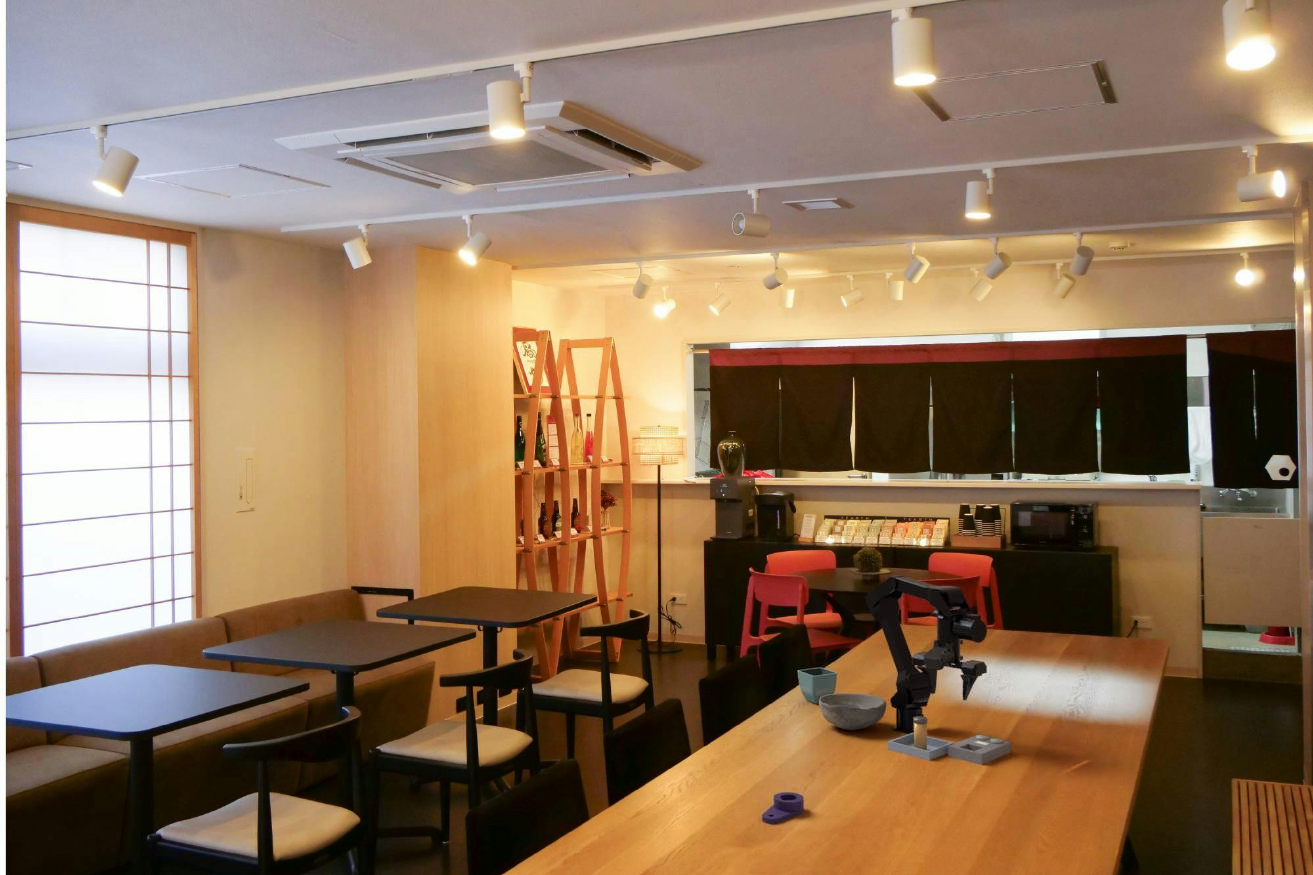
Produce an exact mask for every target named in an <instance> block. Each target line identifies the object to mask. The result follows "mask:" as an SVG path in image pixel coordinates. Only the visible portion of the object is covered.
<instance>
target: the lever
mask: <svg viewBox="0 0 1313 875" xmlns="http://www.w3.org/2000/svg"><path fill="white" fill-rule="evenodd" d="M804 798H805V797H804V796H803V795H802V794H799V793H797V792H793V791H792V792H791V791H784V792H778V793H775V794H774V795H773V805H771V806H770V807H769V808H768V809H767V810H765V811H764V812H763V813H762V815H761V821H762V822H763V823H765V824H768V825H769V824H770V825H774V824H779V823H782V822H784V821H787V820H790V819H793V818H795V817H798V816H801V815H803V814H804V812H805V810H804V807H805V805H804V803H805V802H804V800H805V799H804Z"/></svg>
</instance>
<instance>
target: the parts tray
mask: <svg viewBox="0 0 1313 875" xmlns="http://www.w3.org/2000/svg"><path fill="white" fill-rule="evenodd" d="M952 744H955V743H954V742H952V741H949V740H944V739H941V738H936V737H932V736H928V735H927V750H923V749H919V748H915V747H914V733H907V734H905V735H903V736H902V735H901V736H899V737H897V738H894V739H891V740H888V741H887V750H888V751H893V752H895V753H899V754H903V755H908V756H911V757H914V758H919V759H923V760H926V761H932V760H934V759H937V758H940V757H942V756H945V755H946V754H947V755H948V746H950V745H952Z"/></svg>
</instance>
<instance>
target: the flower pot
mask: <svg viewBox="0 0 1313 875" xmlns="http://www.w3.org/2000/svg"><path fill="white" fill-rule="evenodd" d="M797 677H798V684H799V688H800V691H801V692H800V693H802V695H803V697H804V699H805V700H806V701H807V702H811V703H812V704H815V705H816V704H819V699H820V697H822V696H825V695H828V694H835V692H836V688H837V680H838V672H836V671H834V670H831V669H827V668H824V667H814V668H813V667H812V668H806V669H799V670H797Z"/></svg>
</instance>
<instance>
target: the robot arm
mask: <svg viewBox="0 0 1313 875" xmlns="http://www.w3.org/2000/svg"><path fill="white" fill-rule="evenodd" d="M904 594H906V595H907V596H908V595H909V596H912V597H914V598H918V599H921V600H922V601H923V600H924V601H926V602H927V603H928V604H929V605H930V606H931V607H933V608H934V609H935V610H934V611H933V612H931V613H930V616H931V617H932V618H936V625H937V626H936V639H935V640H933V647H932V648H930V649H929V650H927V651H921V652H916V653H914V654H913V656H912V653H911V651H910V649H909V645H908V642H907V640H906V637H905V633H904V632H903V629H902V628H903V627H902V625H901V623H900V620H899V612H900V603H899V602H900V600H901V599H902V598H903V597H904ZM865 604H866V606H867V608H868V611H869V612H870V614H871V616H873V618H875V619H876V621H878V622H879V624H880V626H881V629H882V631H883V635H884V637H885V641H886V643H887V646H888V649H889V651H890V652H889V653H890V656H891V658H892V661H893V663H894V666H895V669H896V672H897V677H896V681H895V687H896V692H895V693H894V694H893V695H892V696H891V697H890V699H889V701H890V705H891V708H893V709H895V718H896V719H895V722H896V723H895V726H894V727H892V730H894V731H898V732H902V733H907V734H910V733H914V722H913V717H916V716H922V717H925V716H924V715H925V714H924V713H923V707H924V708H925V707H926V708H927V706H928V704H929V700H930V697H931V695H934V694H936V690H937V680H938V671H941V670H944V667H946V668H950V669H958V670H960V671H961V672H962V674H960V675H959V676H960V678H961V680H962V700H963V701H967V700H968V697H969V695H970V694H971V692H972V689H973V686H974V684H975V683H976V681H977V679H978V678H979V677H982V676H983V675H984V674H987V673H988V672H987V671H988V667H987V666H988V665H986V662H985V661H981V660H977V659H970V660H967V661H964V656H963V655H961V645H963V644H964V641H968V642H972V643H976V644H977V643H978V644H979V643H982V642H984V641H985V639H986V637H987V634H988V628H987V625H986V623H985V622H984V621H983V620H982V616H981V614H973V613H974V612H973V611H972V608H971V606H970V604H969V602H968V601H967V599H966V597H965V595H964V593H963V591H962V588H961V587H959V586H953V585H934V584H931V583H928V582H925V581H922V580H917V579H914V578H911V577H908V576H907V575H904V574H897V575H891V576H889V577H888V578H887V579H886V580H885V581H883V582H881V583H879V585H877V586H875V587H874V588H872V589H870V590H869V591H868V592H867V594H866V597H865Z"/></svg>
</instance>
